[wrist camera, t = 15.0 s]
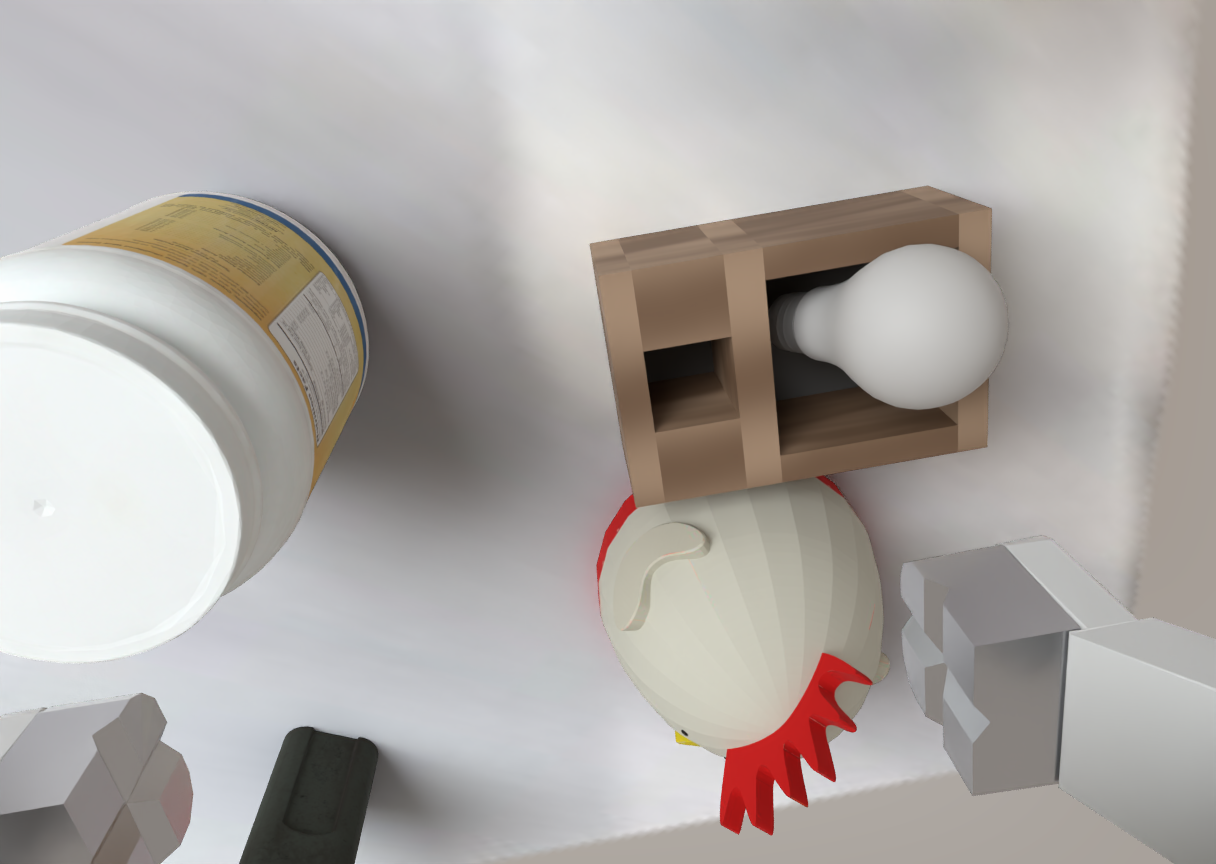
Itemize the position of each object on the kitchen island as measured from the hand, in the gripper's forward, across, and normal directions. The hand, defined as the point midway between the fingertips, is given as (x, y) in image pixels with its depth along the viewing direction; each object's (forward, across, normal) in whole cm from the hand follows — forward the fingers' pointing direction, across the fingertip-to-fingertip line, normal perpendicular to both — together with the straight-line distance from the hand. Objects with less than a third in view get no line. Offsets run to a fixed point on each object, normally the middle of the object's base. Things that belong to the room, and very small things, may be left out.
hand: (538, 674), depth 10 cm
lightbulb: (+30, -10, +7) cm, 33 cm away
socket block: (+31, -10, +7) cm, 33 cm away
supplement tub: (+31, +14, +3) cm, 34 cm away
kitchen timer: (+32, -6, +20) cm, 38 cm away
